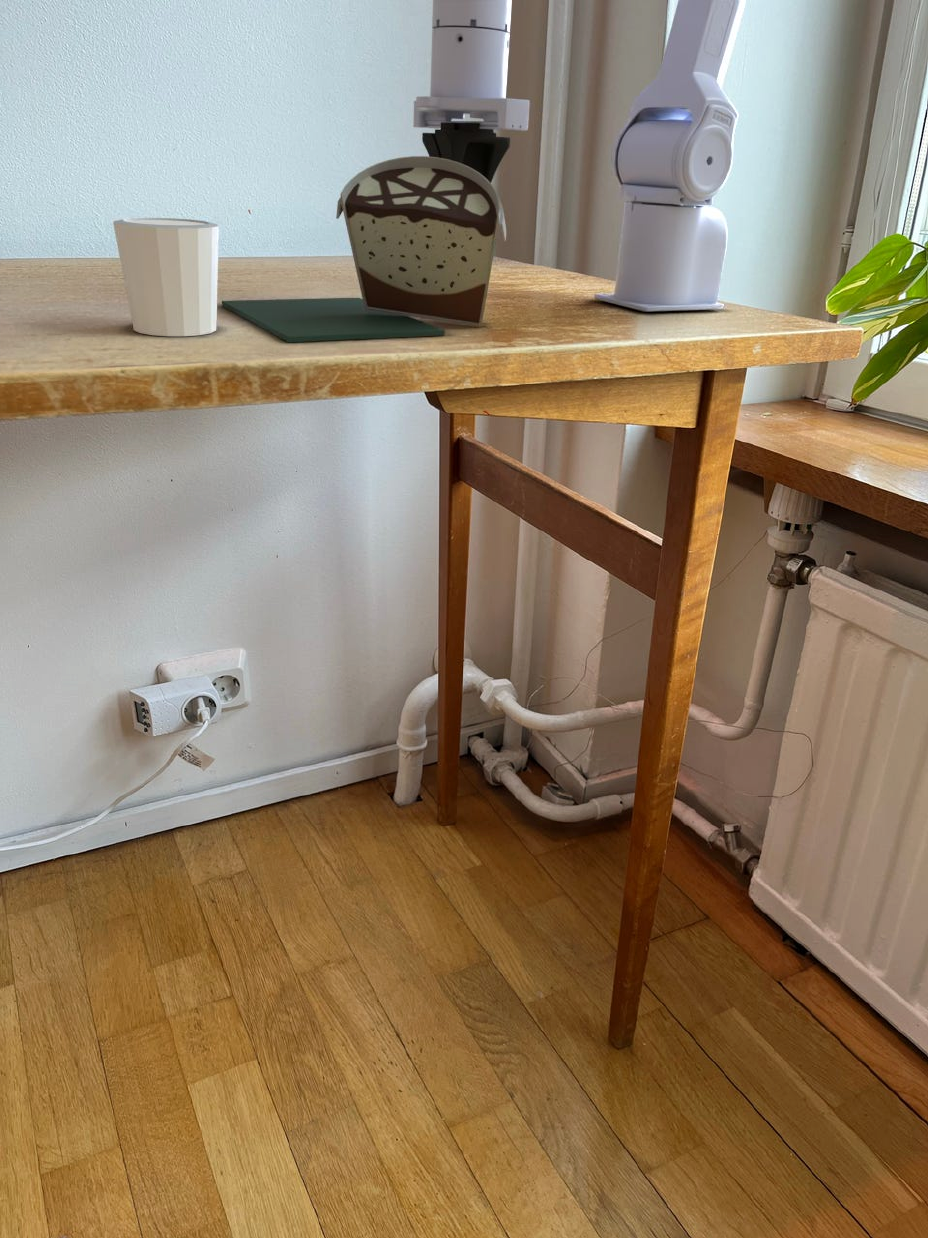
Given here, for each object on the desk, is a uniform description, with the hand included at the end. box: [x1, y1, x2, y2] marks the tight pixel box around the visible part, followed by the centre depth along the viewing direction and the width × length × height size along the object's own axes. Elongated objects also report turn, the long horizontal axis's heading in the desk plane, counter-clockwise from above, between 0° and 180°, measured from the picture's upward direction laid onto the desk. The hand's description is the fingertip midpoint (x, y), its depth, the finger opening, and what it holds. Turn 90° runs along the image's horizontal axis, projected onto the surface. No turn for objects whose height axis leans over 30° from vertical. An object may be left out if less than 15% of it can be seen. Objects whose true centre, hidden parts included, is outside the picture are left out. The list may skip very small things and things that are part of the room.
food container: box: [335, 155, 507, 328], centre depth 71 cm, size 12×6×10 cm
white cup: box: [112, 217, 220, 337], centre depth 65 cm, size 7×7×7 cm
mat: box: [221, 297, 445, 343], centre depth 73 cm, size 12×16×1 cm
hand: (461, 231), depth 75 cm, fingers closed
